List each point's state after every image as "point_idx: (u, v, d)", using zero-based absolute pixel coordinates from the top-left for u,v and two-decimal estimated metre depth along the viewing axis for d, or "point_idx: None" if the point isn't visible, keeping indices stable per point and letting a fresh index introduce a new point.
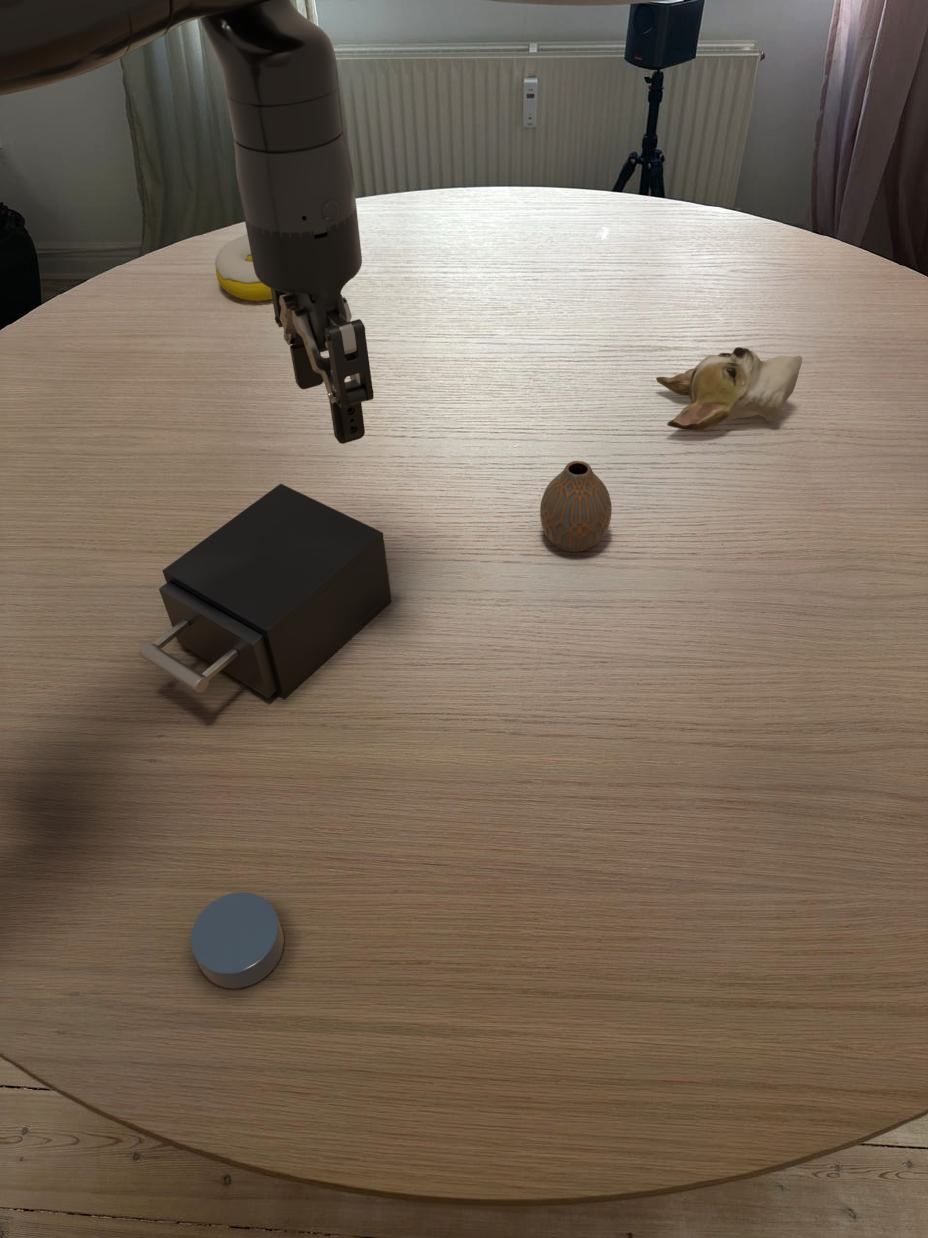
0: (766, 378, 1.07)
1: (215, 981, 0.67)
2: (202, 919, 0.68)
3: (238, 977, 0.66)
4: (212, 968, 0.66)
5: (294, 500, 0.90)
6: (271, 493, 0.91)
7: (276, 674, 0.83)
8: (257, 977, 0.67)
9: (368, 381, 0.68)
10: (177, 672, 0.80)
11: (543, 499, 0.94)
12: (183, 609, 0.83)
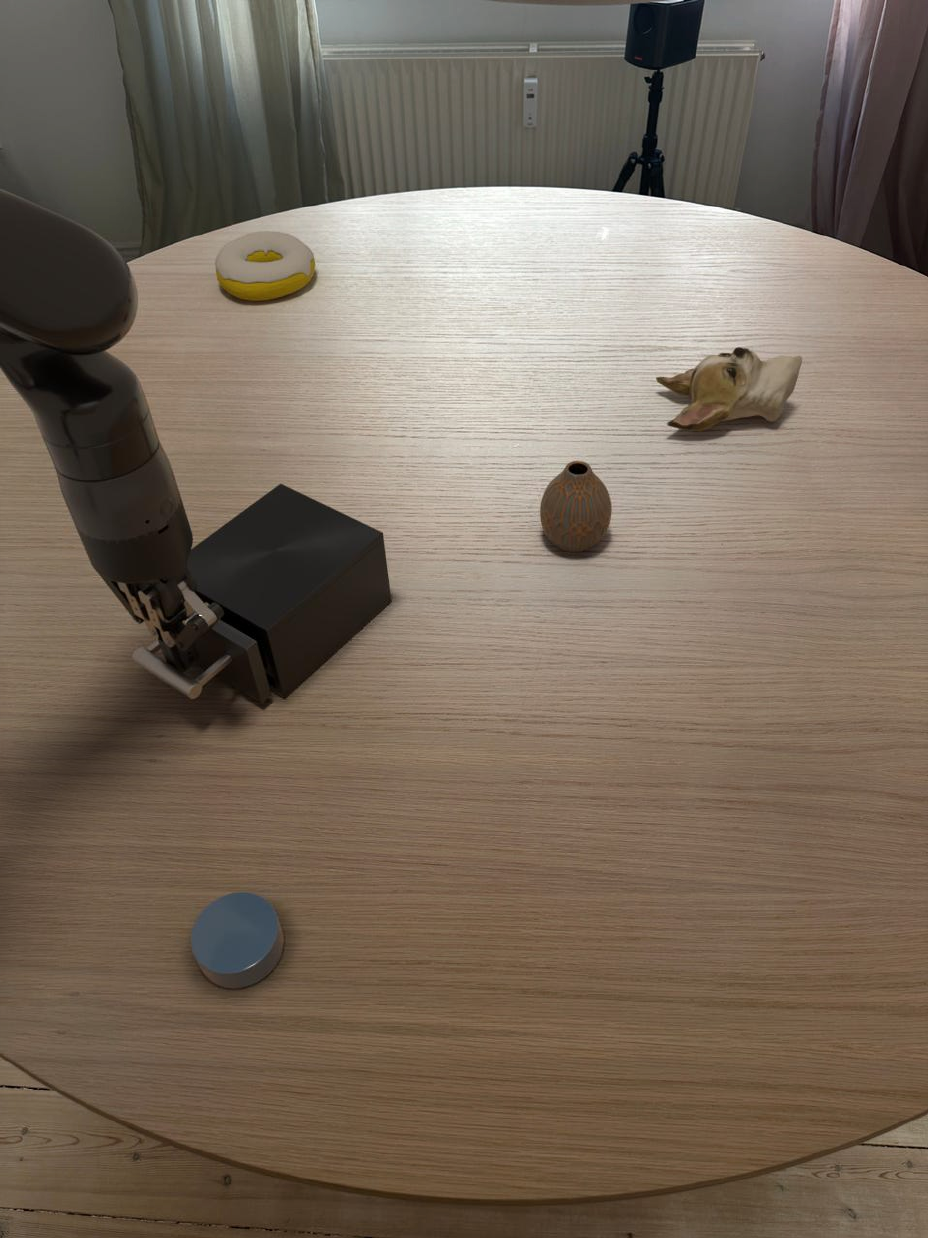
0: (766, 378, 1.07)
1: (215, 981, 0.67)
2: (202, 919, 0.68)
3: (238, 977, 0.66)
4: (212, 968, 0.66)
5: (294, 500, 0.90)
6: (271, 493, 0.91)
7: (276, 674, 0.83)
8: (257, 977, 0.67)
9: (209, 630, 0.77)
10: (170, 678, 0.79)
11: (543, 499, 0.94)
12: None
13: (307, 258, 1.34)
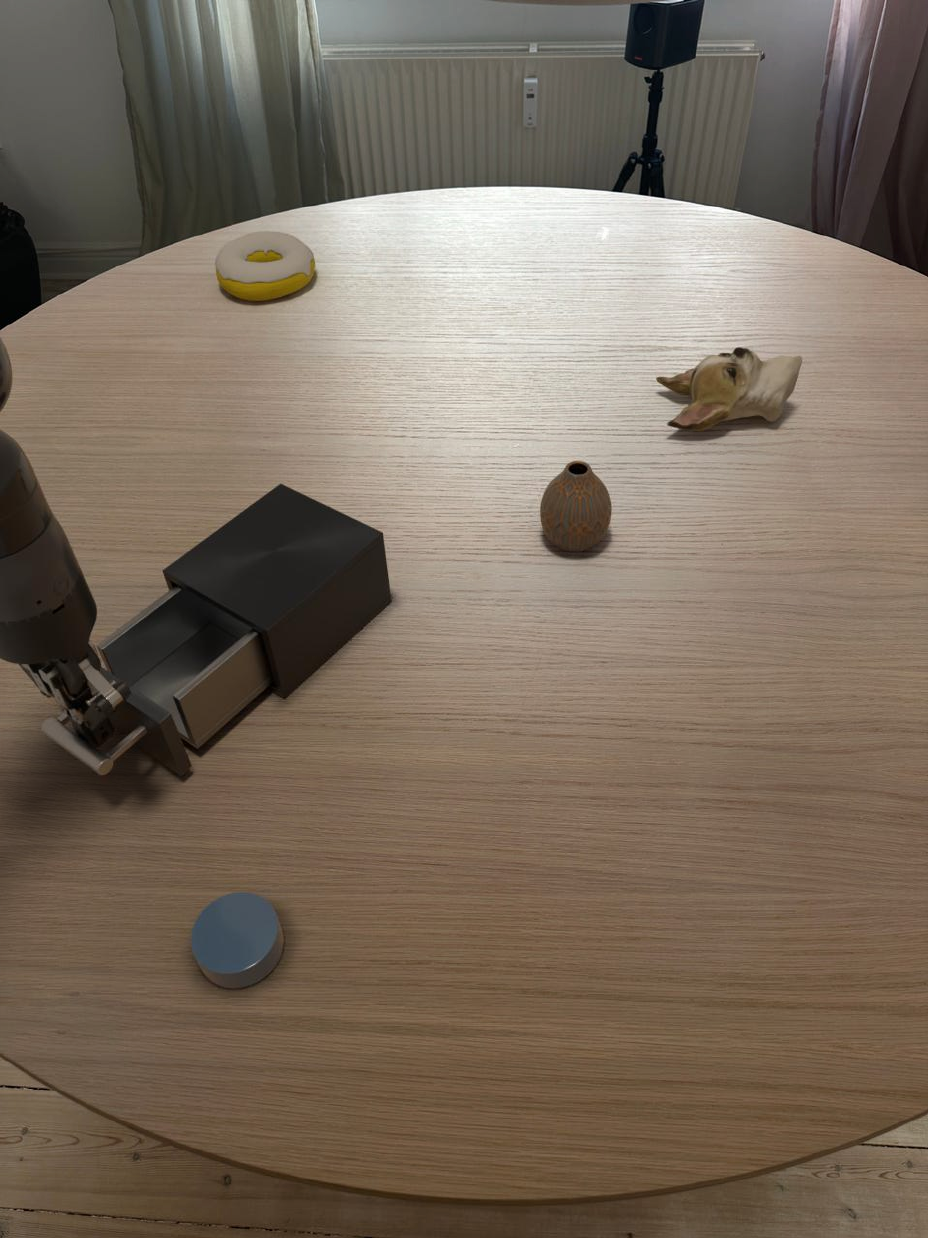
0: (766, 378, 1.07)
1: (215, 981, 0.67)
2: (202, 919, 0.68)
3: (238, 977, 0.66)
4: (212, 968, 0.66)
5: (294, 500, 0.90)
6: (271, 493, 0.91)
7: (276, 674, 0.83)
8: (257, 977, 0.67)
9: (119, 707, 0.72)
10: (79, 753, 0.74)
11: (543, 499, 0.94)
12: None
13: (307, 258, 1.34)
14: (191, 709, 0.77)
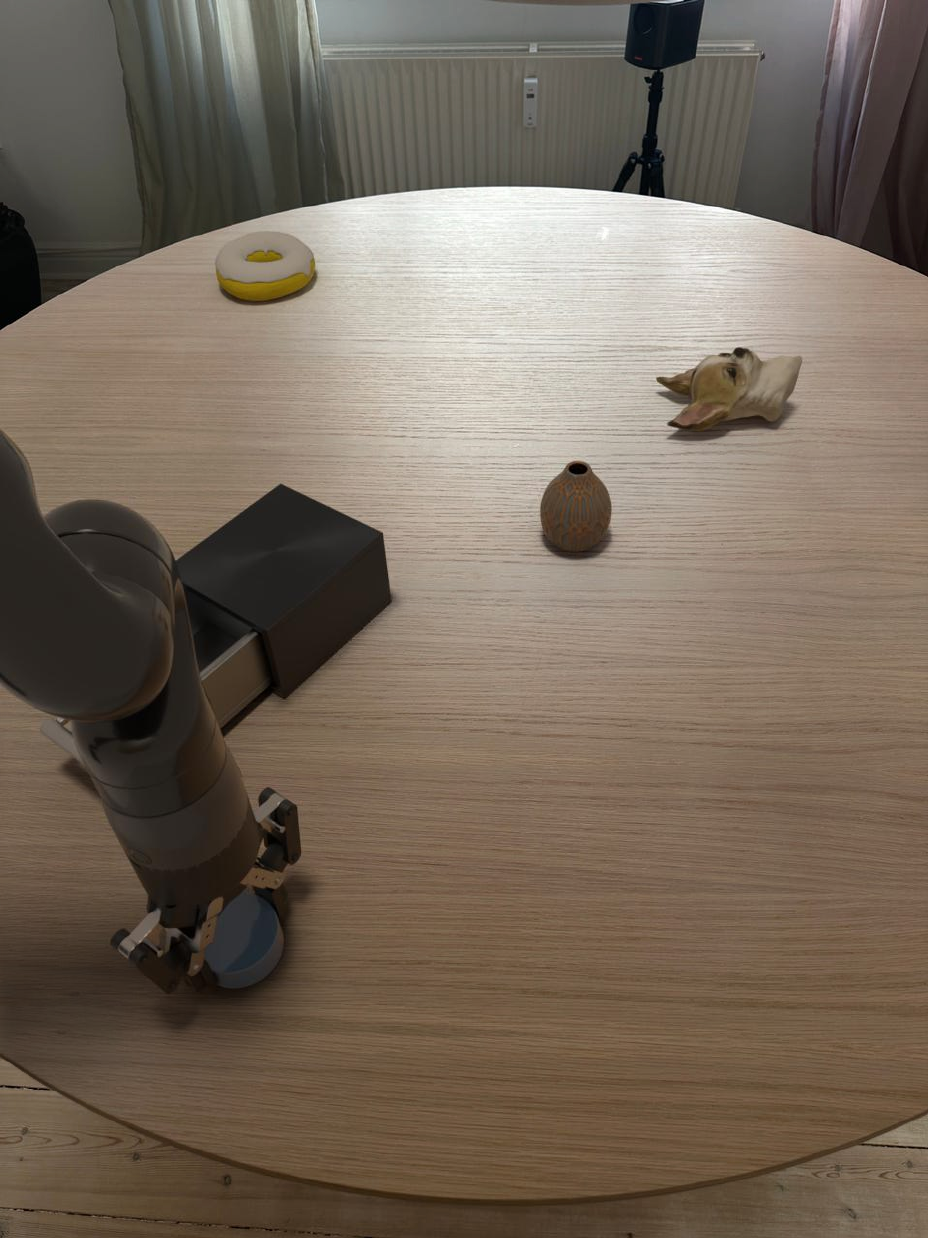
0: (766, 378, 1.07)
1: None
2: None
3: (238, 977, 0.66)
4: (212, 968, 0.66)
5: (294, 500, 0.90)
6: (271, 493, 0.91)
7: (276, 674, 0.83)
8: (257, 977, 0.67)
9: (157, 985, 0.61)
10: (78, 754, 0.74)
11: (543, 499, 0.94)
12: None
13: (307, 258, 1.34)
14: None
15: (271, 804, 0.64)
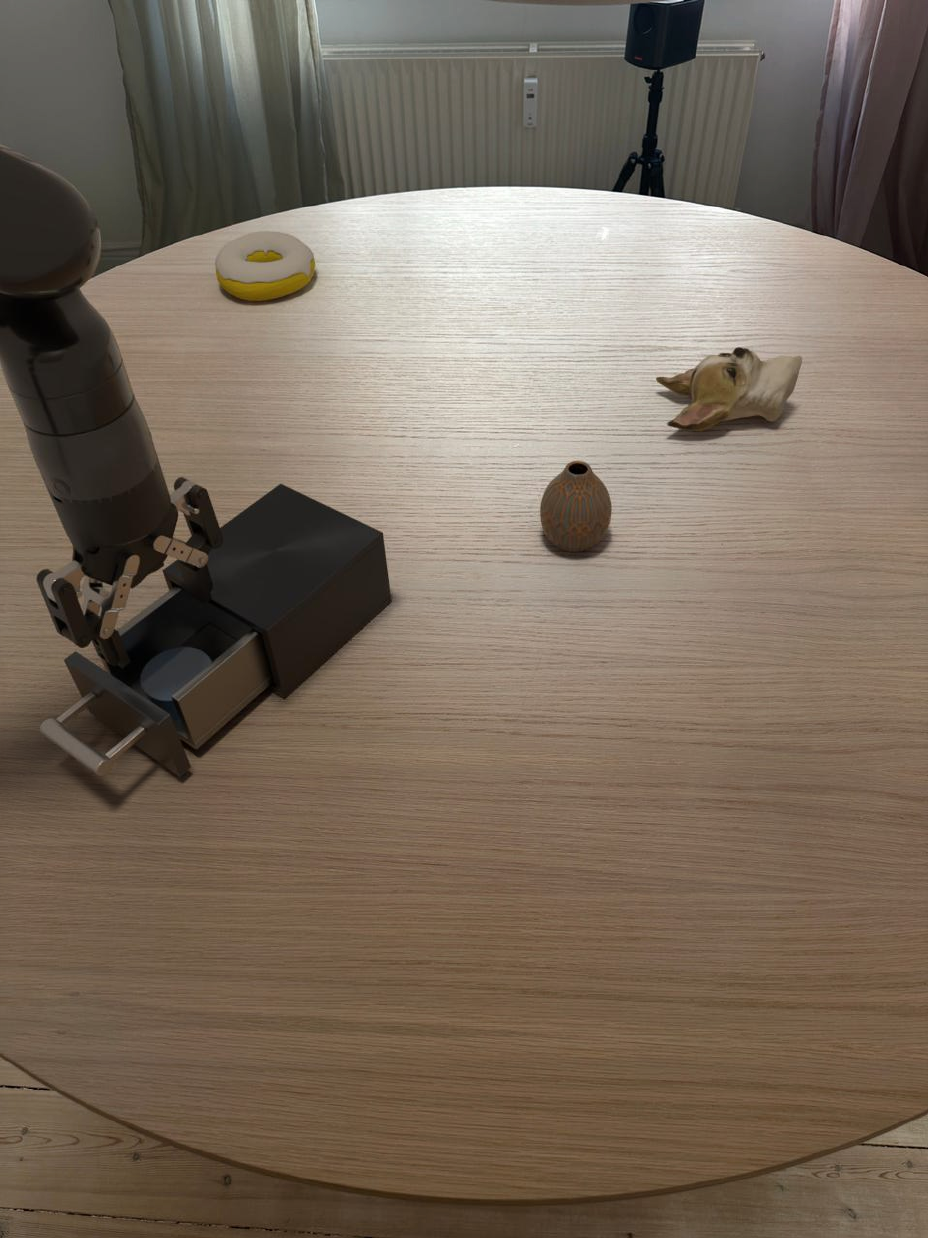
0: (766, 378, 1.07)
1: None
2: (150, 665, 0.82)
3: None
4: (157, 697, 0.80)
5: (294, 500, 0.90)
6: (271, 493, 0.91)
7: (276, 674, 0.83)
8: None
9: (71, 632, 0.69)
10: (78, 754, 0.74)
11: (543, 499, 0.94)
12: (89, 682, 0.78)
13: (307, 258, 1.34)
14: (190, 710, 0.77)
15: (183, 489, 0.74)
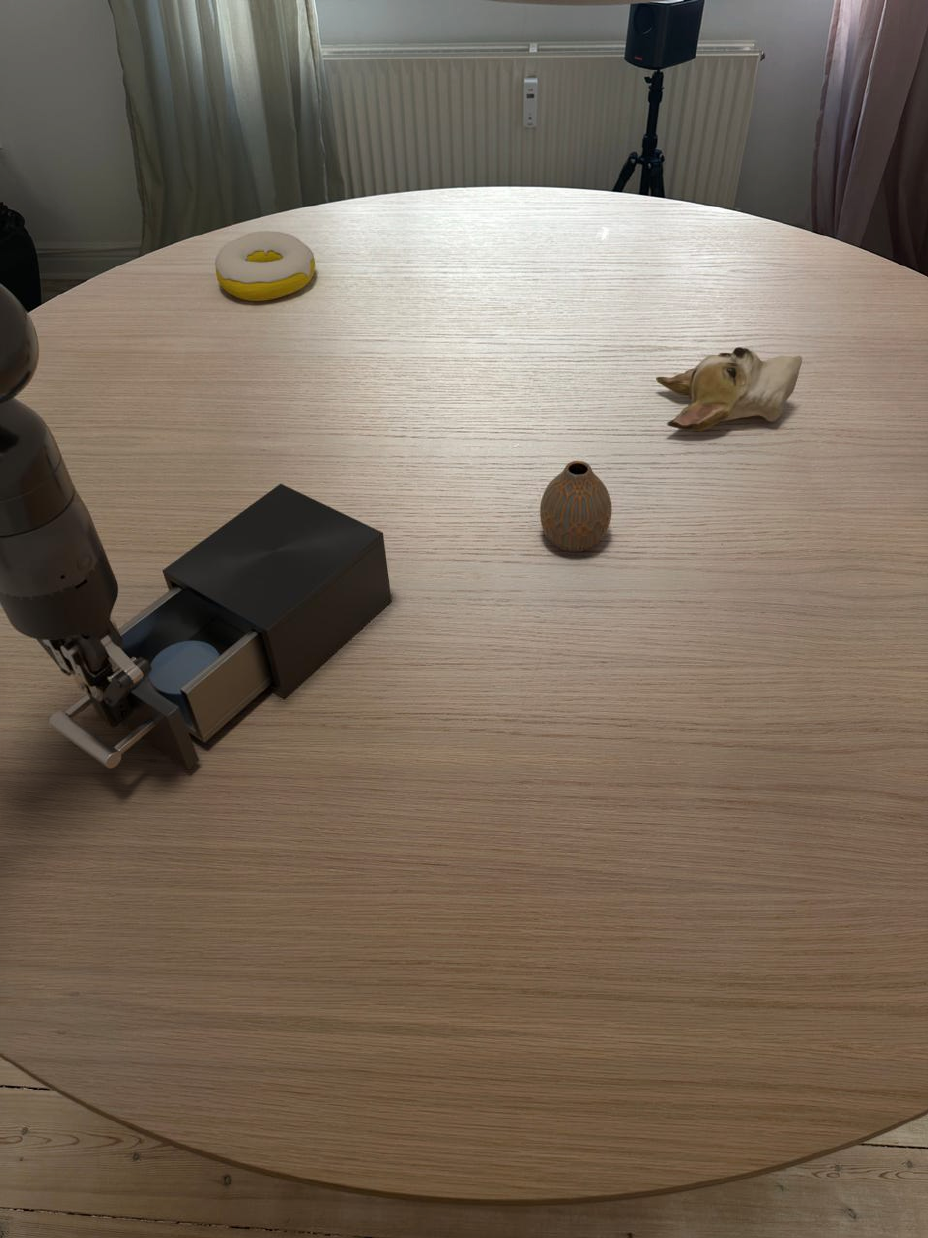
0: (766, 378, 1.07)
1: None
2: (158, 658, 0.83)
3: None
4: (165, 690, 0.80)
5: (294, 500, 0.90)
6: (271, 493, 0.91)
7: (276, 674, 0.83)
8: None
9: (139, 684, 0.73)
10: (87, 746, 0.75)
11: (543, 499, 0.94)
12: None
13: (307, 258, 1.34)
14: (198, 703, 0.78)
15: None
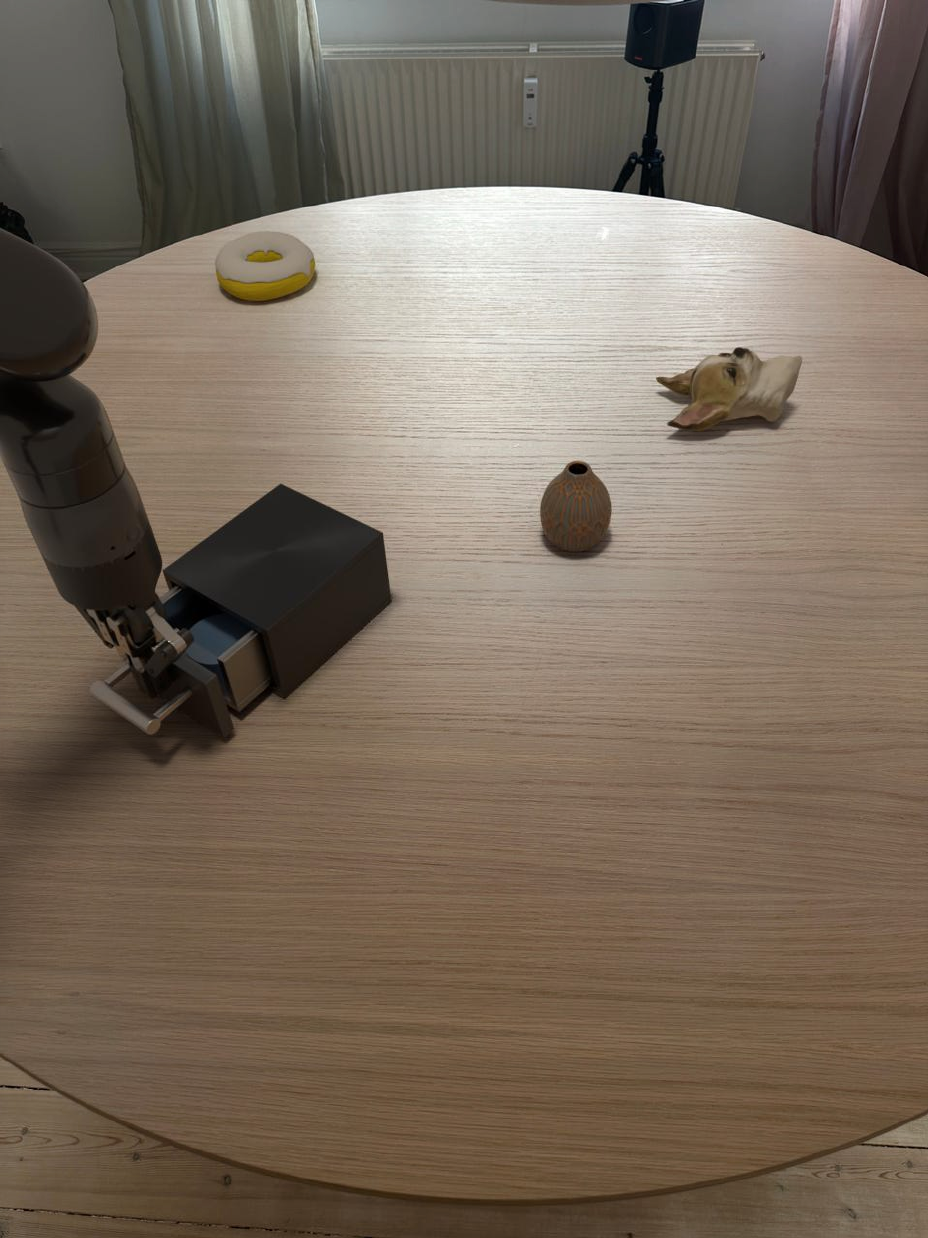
0: (766, 378, 1.07)
1: None
2: (193, 631, 0.85)
3: None
4: (201, 661, 0.82)
5: (294, 500, 0.90)
6: (271, 493, 0.91)
7: (276, 674, 0.83)
8: None
9: (180, 656, 0.75)
10: (127, 713, 0.77)
11: (543, 499, 0.94)
12: None
13: (307, 258, 1.34)
14: (234, 672, 0.80)
15: None
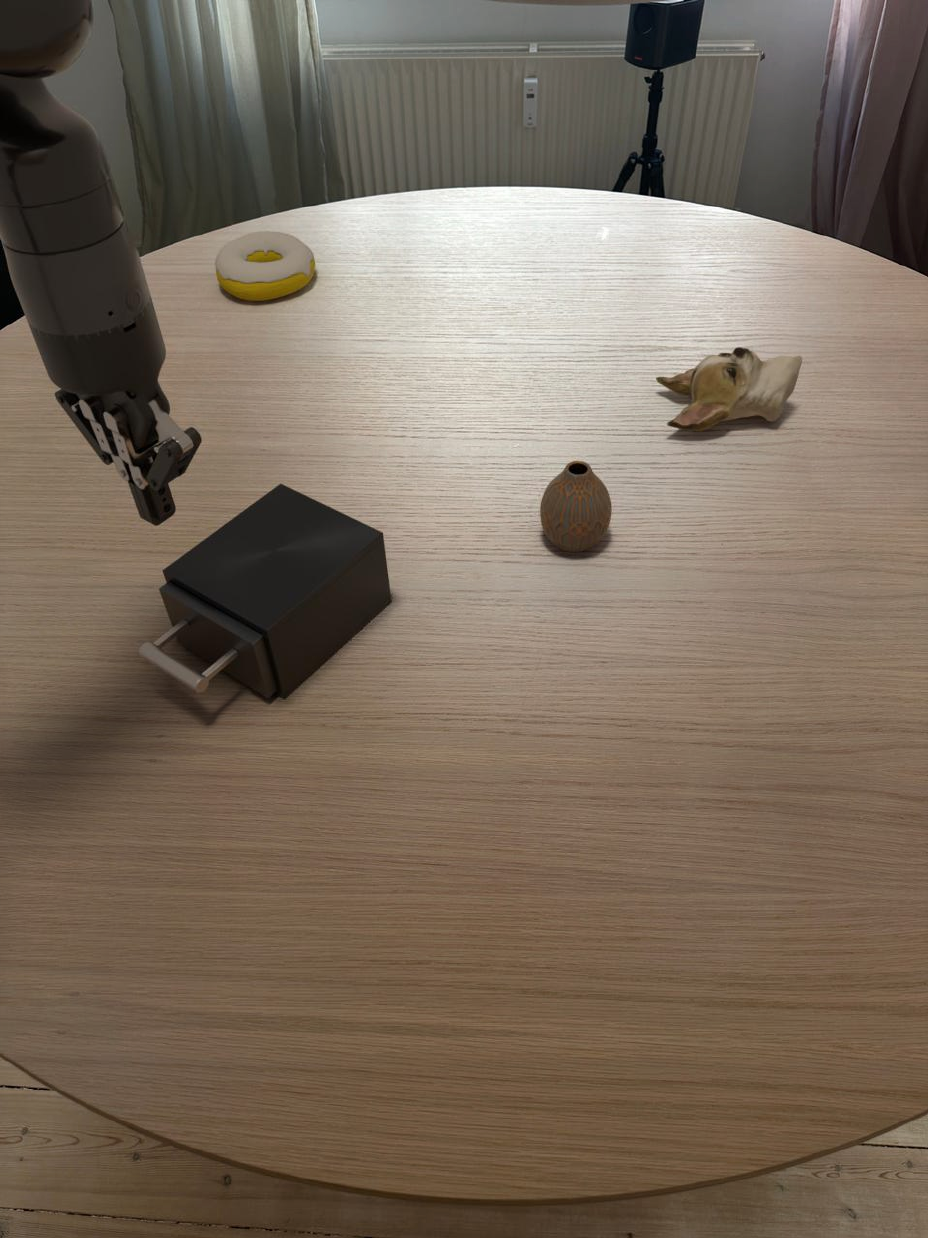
0: (766, 378, 1.07)
1: None
2: None
3: None
4: (245, 624, 0.85)
5: (294, 500, 0.90)
6: (271, 493, 0.91)
7: (276, 674, 0.83)
8: None
9: (185, 467, 0.68)
10: (177, 672, 0.80)
11: (543, 499, 0.94)
12: (183, 609, 0.83)
13: (307, 258, 1.34)
14: None
15: None
